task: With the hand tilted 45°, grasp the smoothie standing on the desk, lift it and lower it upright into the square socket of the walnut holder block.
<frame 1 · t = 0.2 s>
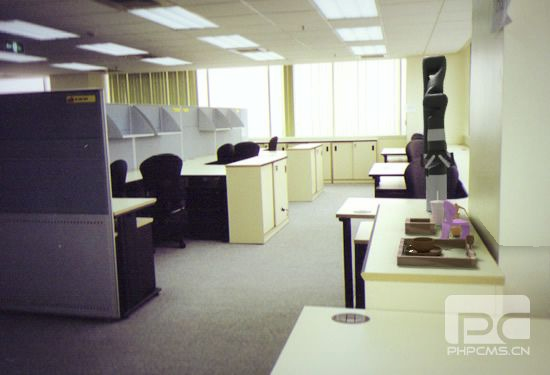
hand: (437, 176, 222), 18 cm above the table, tool pointing down, fingers open, 8 cm apart
figurine: (456, 235, 186), on the table
smoothie: (438, 225, 206), on the table
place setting: (435, 255, 161), resting in tray rim
toy chair: (454, 242, 177), on the table
holder: (420, 230, 197), on the table
tray rim: (434, 254, 161), on the table
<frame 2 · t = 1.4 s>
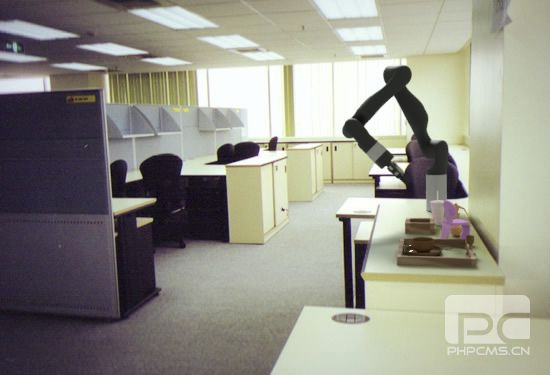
hand: (408, 182, 207), 18 cm above the table, tool tilted 45°, fingers open, 8 cm apart
nothing on the table moved.
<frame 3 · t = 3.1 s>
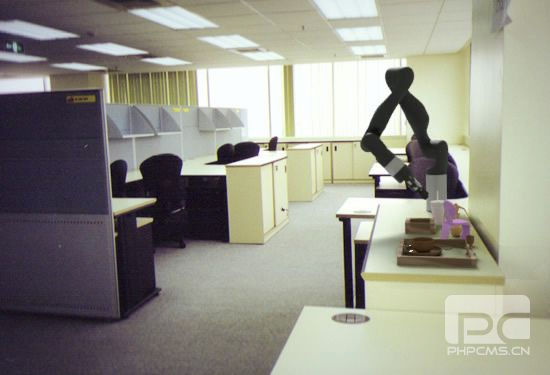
hand: (427, 196, 206), 12 cm above the table, tool tilted 45°, fingers open, 8 cm apart
nothing on the table moved.
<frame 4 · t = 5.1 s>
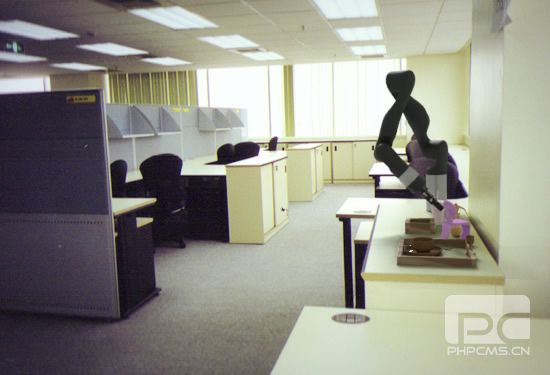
hand: (442, 208, 205), 7 cm above the table, tool tilted 45°, fingers closed on smoothie, 6 cm apart
smoothie: (438, 225, 206), on the table, touching gripper
everything else where it was.
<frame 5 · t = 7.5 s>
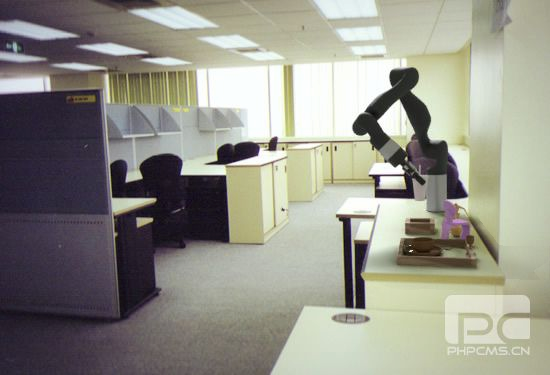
hand: (424, 182, 194), 19 cm above the table, tool tilted 45°, fingers closed on smoothie, 6 cm apart
smoothie: (419, 200, 196), point 12 cm above the table, touching gripper
everything else where it was.
when the fingers open (8 cm above the table, at t = 10.1 s): smoothie stays where it is, resting on holder.
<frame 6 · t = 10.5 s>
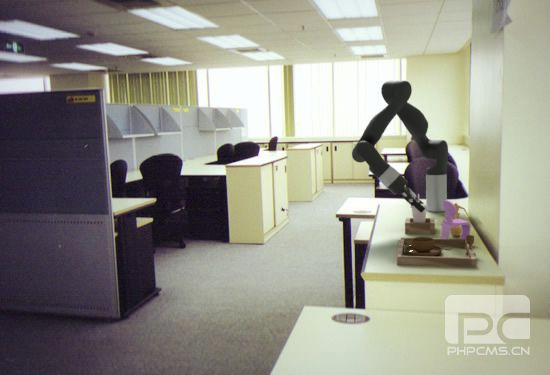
hand: (423, 208, 195), 9 cm above the table, tool tilted 45°, fingers open, 8 cm apart
smoothie: (419, 229, 197), resting on holder
everything else where it was.
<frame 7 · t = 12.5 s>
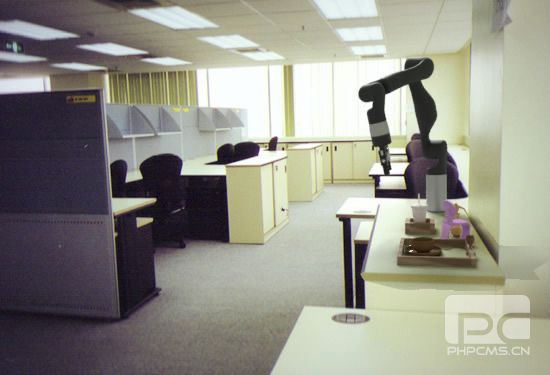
hand: (388, 172, 202), 23 cm above the table, tool pointing down, fingers open, 8 cm apart
nothing on the table moved.
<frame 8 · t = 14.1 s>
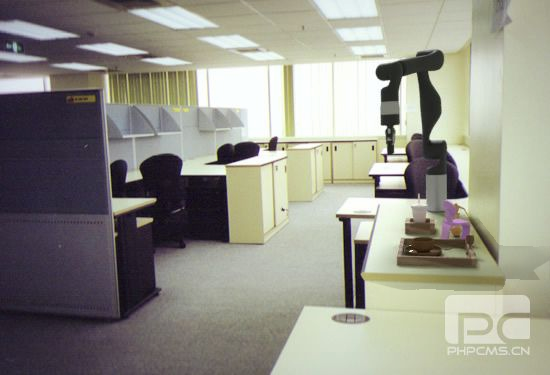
hand: (390, 154, 201), 30 cm above the table, tool pointing down, fingers open, 8 cm apart
nothing on the table moved.
at the end: smoothie 0.2 cm off-centre on the holder, point 0.3 cm above the holder's base; smoothie tilted 0°; the gripper is holding nothing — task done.
